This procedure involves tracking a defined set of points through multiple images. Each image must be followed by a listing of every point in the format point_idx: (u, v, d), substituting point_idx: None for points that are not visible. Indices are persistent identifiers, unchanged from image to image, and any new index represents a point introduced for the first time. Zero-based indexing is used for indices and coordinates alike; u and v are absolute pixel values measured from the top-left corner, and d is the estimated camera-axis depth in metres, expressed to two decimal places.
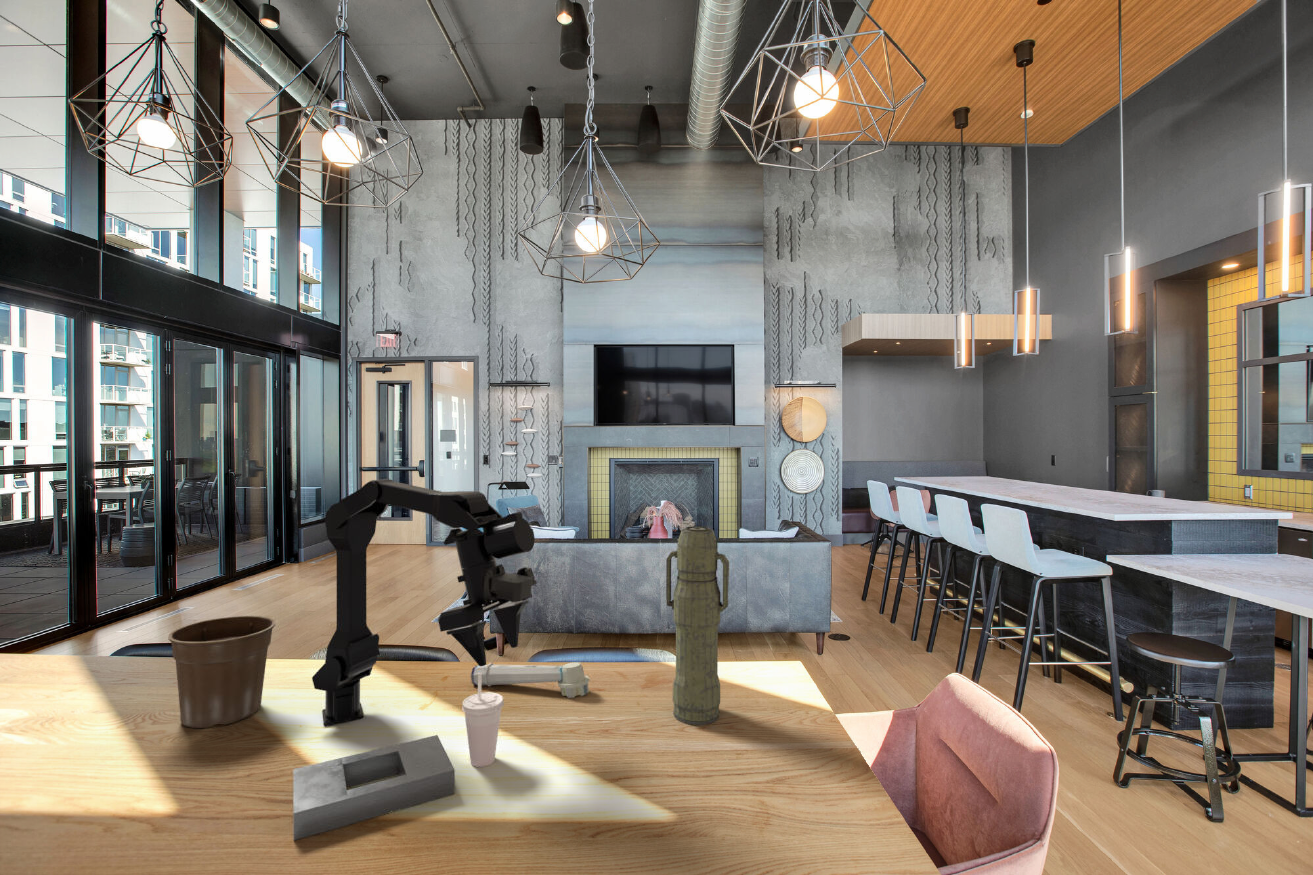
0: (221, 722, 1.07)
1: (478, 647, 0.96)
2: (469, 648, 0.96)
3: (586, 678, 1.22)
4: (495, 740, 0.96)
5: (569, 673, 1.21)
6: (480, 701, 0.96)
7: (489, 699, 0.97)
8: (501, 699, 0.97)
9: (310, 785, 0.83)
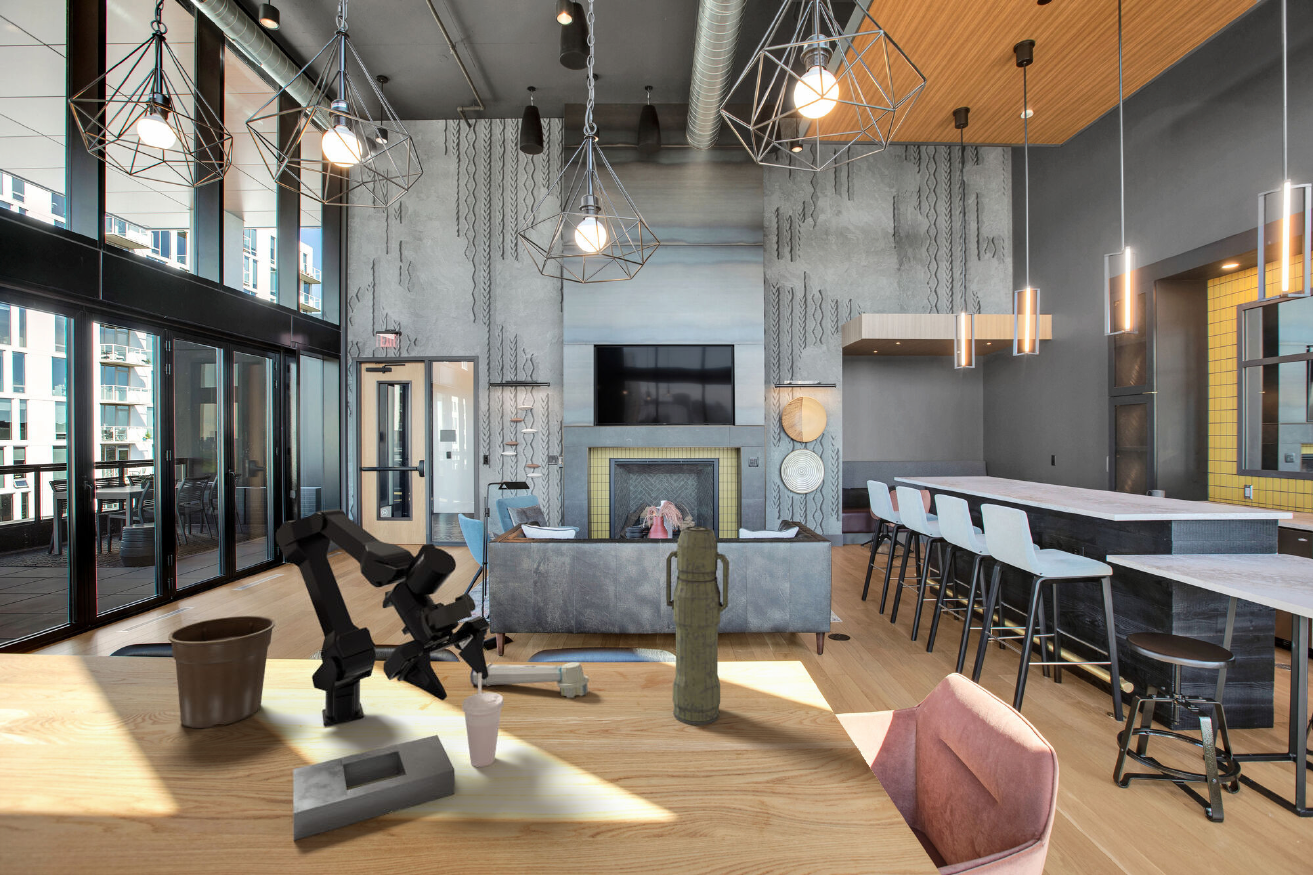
0: (221, 722, 1.07)
1: (431, 681, 0.94)
2: (425, 686, 0.95)
3: (585, 678, 1.22)
4: (495, 740, 0.96)
5: (568, 673, 1.21)
6: (480, 701, 0.96)
7: (489, 699, 0.97)
8: (501, 699, 0.97)
9: (310, 785, 0.83)
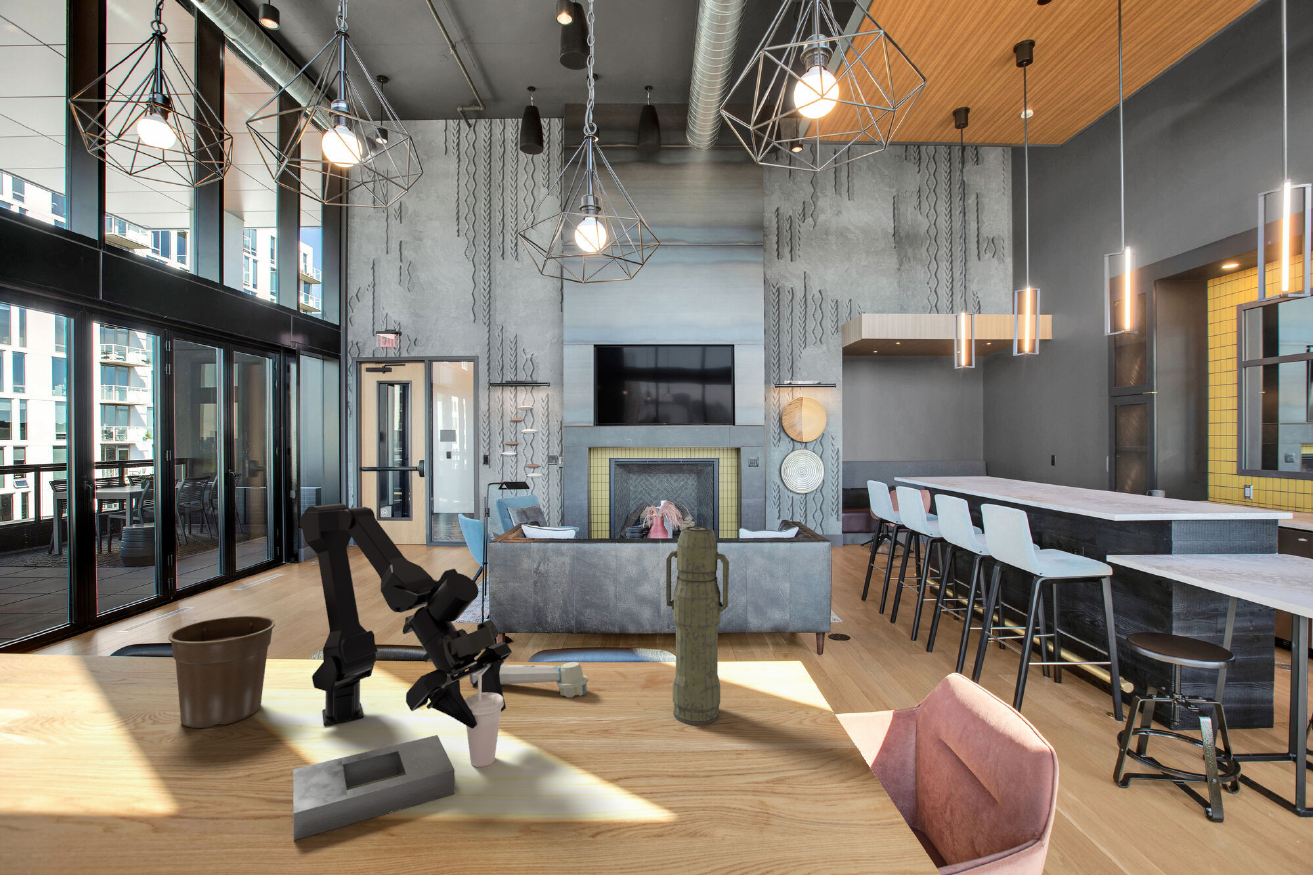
0: (221, 722, 1.07)
1: (461, 709, 0.93)
2: (455, 714, 0.93)
3: (585, 678, 1.22)
4: (495, 740, 0.96)
5: (567, 672, 1.21)
6: (480, 701, 0.96)
7: (489, 699, 0.97)
8: (501, 699, 0.97)
9: (310, 785, 0.83)
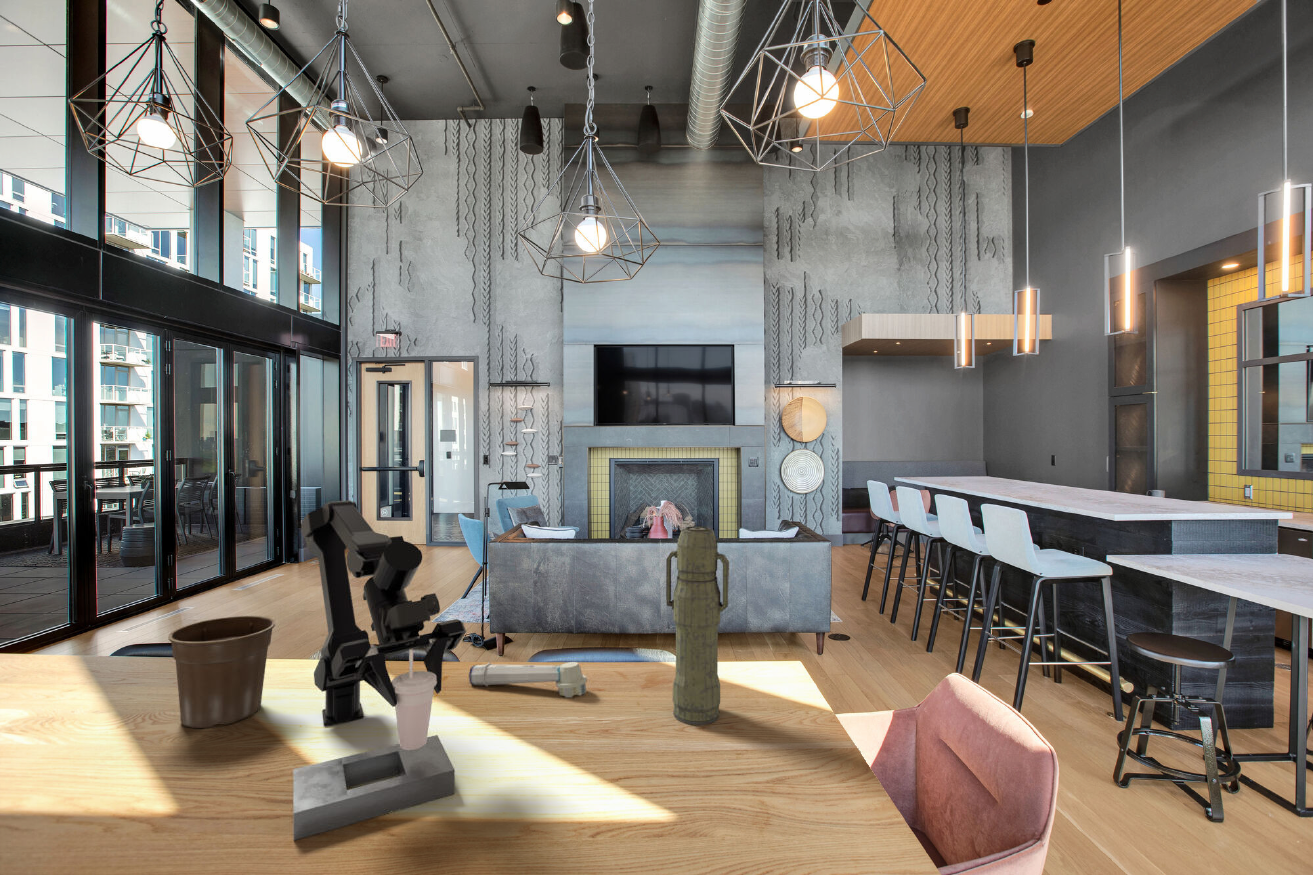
0: (221, 722, 1.07)
1: (383, 684, 0.87)
2: (379, 689, 0.88)
3: (584, 678, 1.23)
4: (423, 723, 0.89)
5: (567, 672, 1.21)
6: (409, 679, 0.89)
7: (419, 678, 0.90)
8: (431, 680, 0.89)
9: (310, 785, 0.83)
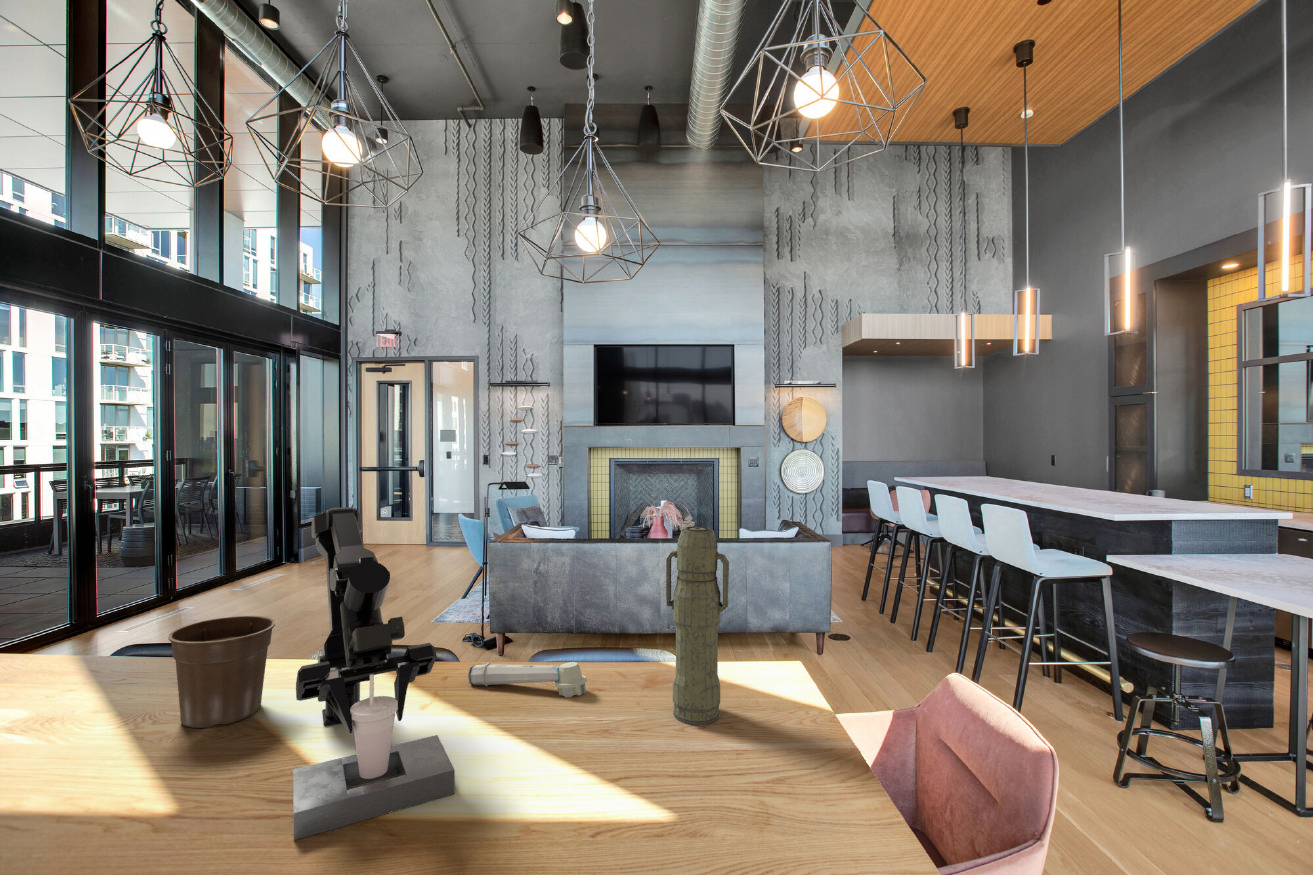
0: (221, 722, 1.07)
1: (340, 709, 0.85)
2: (338, 713, 0.86)
3: (583, 678, 1.23)
4: (380, 752, 0.86)
5: (566, 672, 1.21)
6: (368, 705, 0.87)
7: (378, 705, 0.87)
8: (389, 708, 0.87)
9: (310, 785, 0.83)
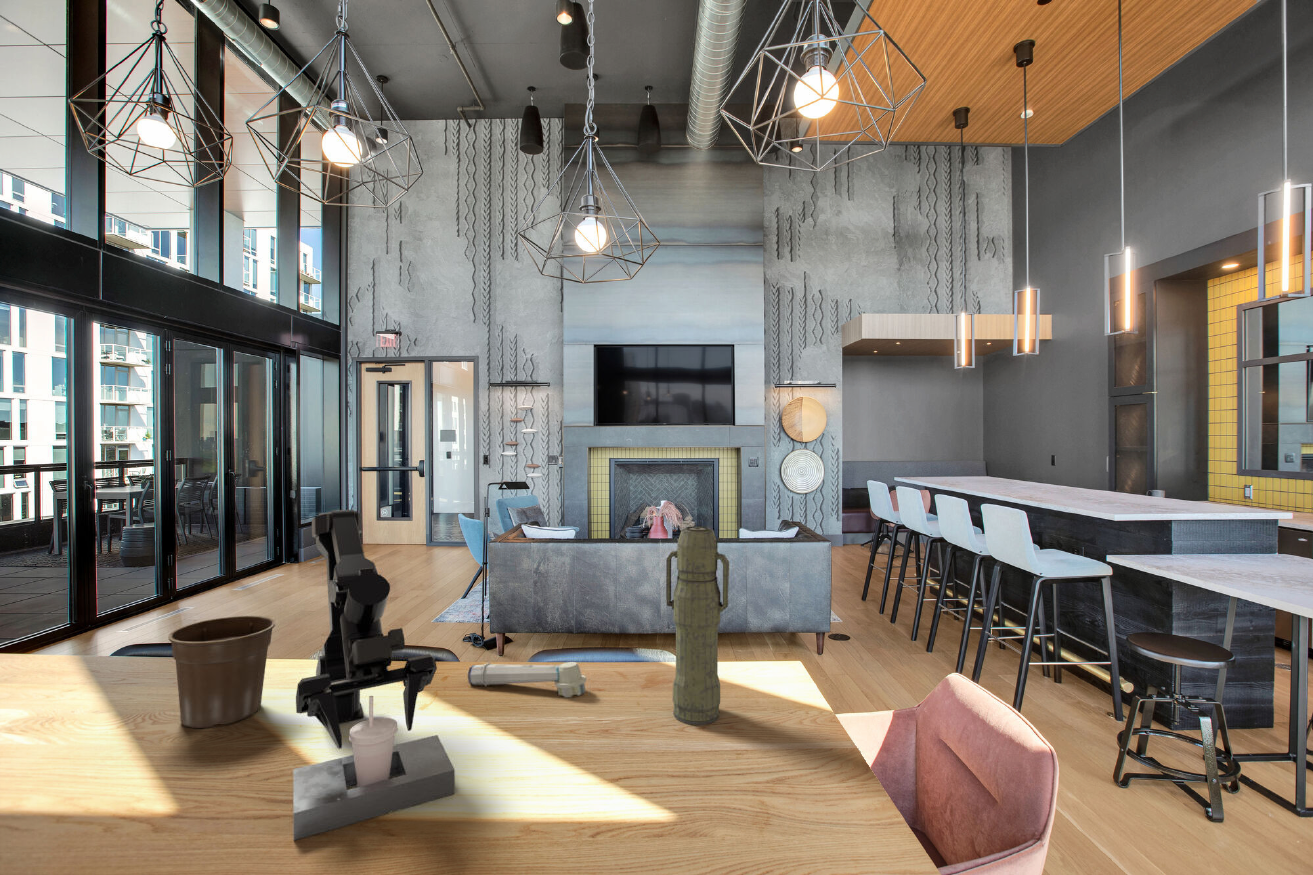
0: (221, 722, 1.07)
1: (329, 724, 0.84)
2: (328, 729, 0.85)
3: (583, 678, 1.23)
4: (380, 775, 0.86)
5: (566, 672, 1.21)
6: (367, 728, 0.87)
7: (378, 727, 0.87)
8: (389, 730, 0.86)
9: (310, 785, 0.83)
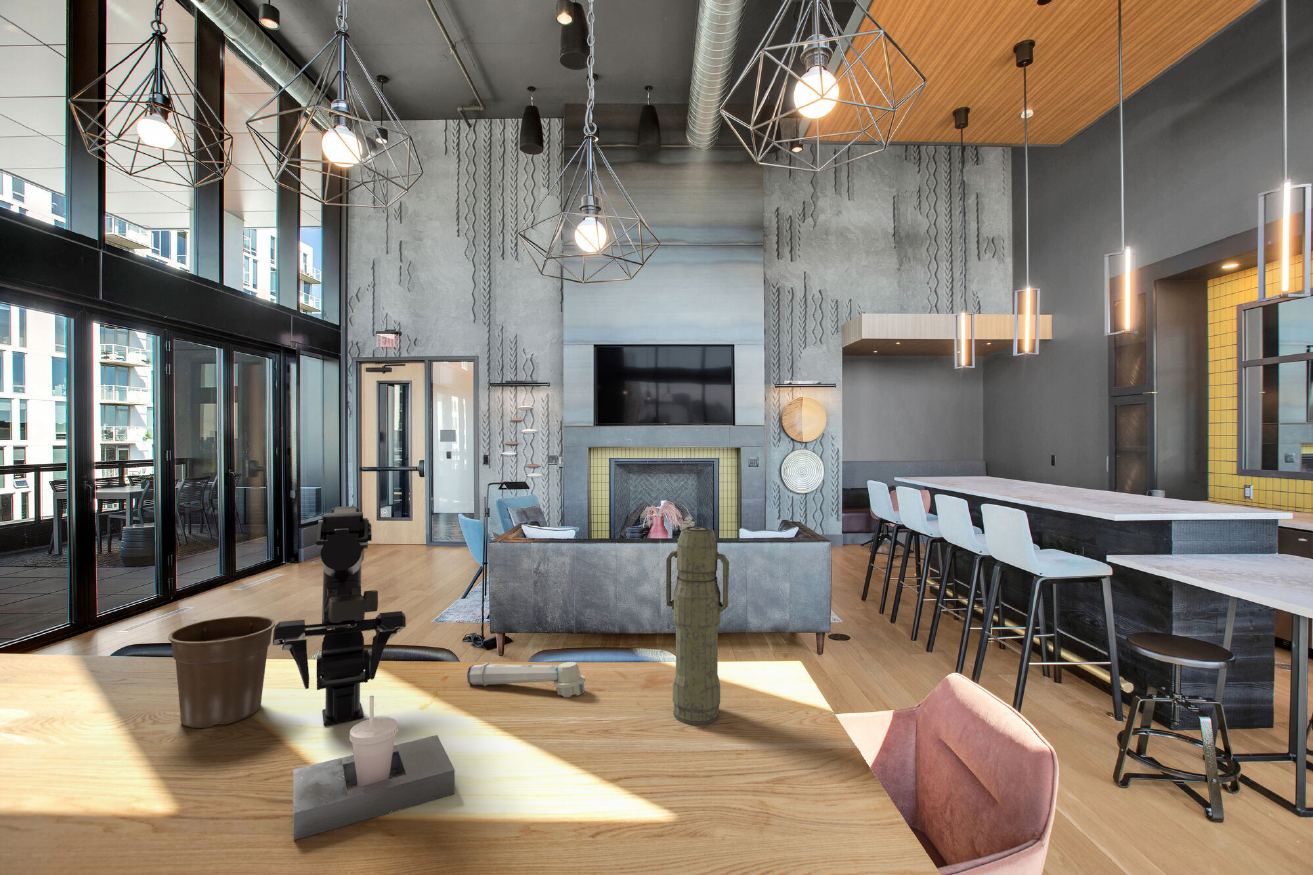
0: (221, 722, 1.07)
1: (299, 667, 0.93)
2: (298, 667, 0.94)
3: (582, 678, 1.23)
4: (380, 775, 0.86)
5: (565, 672, 1.21)
6: (368, 727, 0.87)
7: (378, 727, 0.87)
8: (389, 730, 0.86)
9: (310, 785, 0.83)
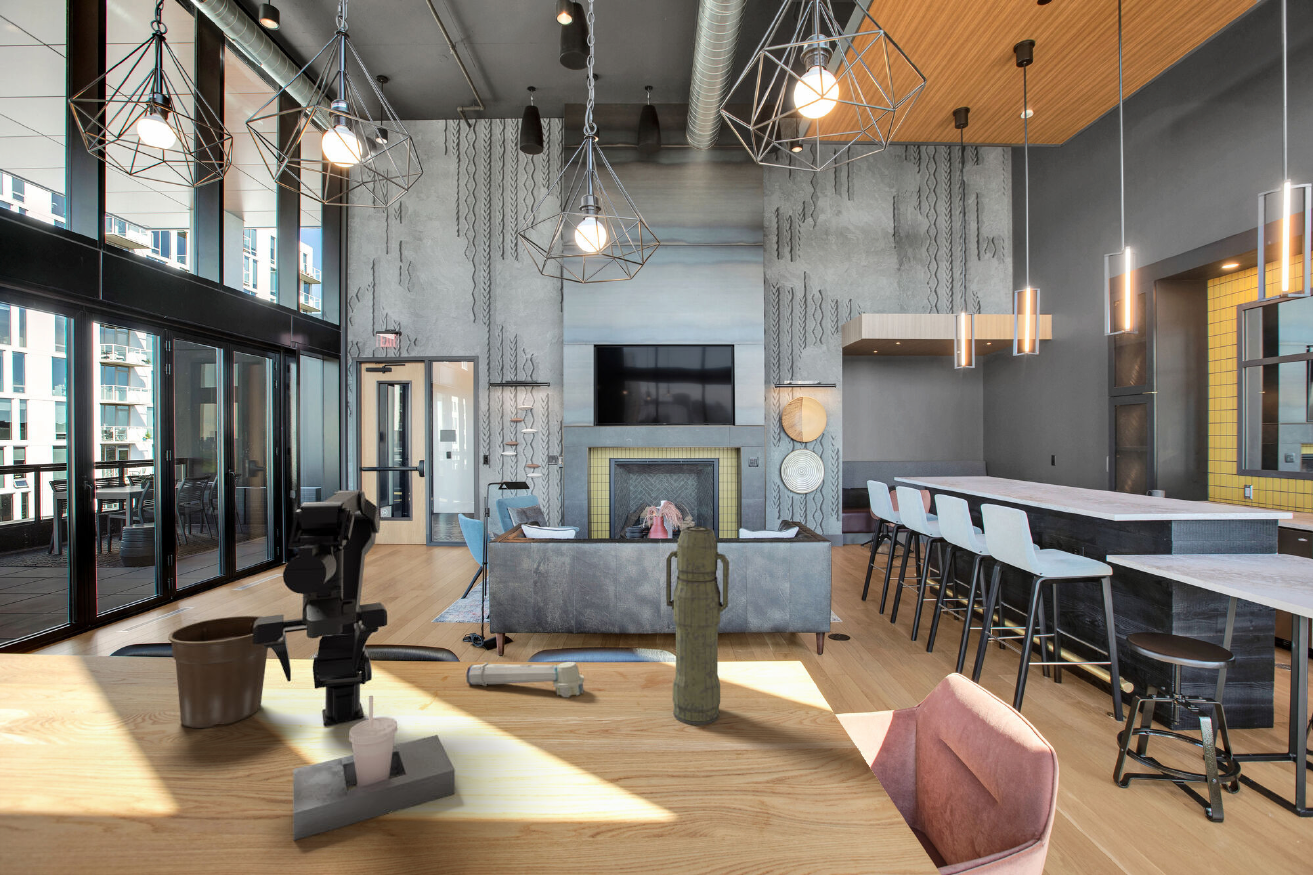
0: (221, 722, 1.07)
1: (281, 663, 0.94)
2: None
3: (581, 677, 1.23)
4: (379, 775, 0.86)
5: (564, 672, 1.21)
6: (367, 727, 0.87)
7: (378, 727, 0.87)
8: (389, 730, 0.86)
9: (310, 785, 0.83)
